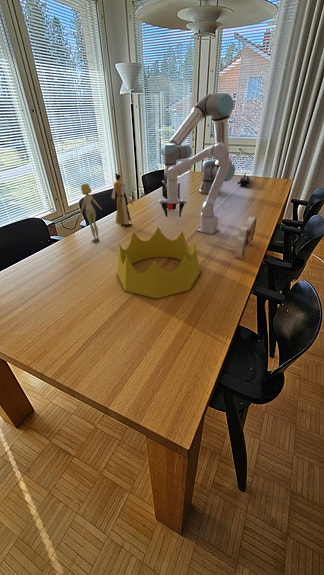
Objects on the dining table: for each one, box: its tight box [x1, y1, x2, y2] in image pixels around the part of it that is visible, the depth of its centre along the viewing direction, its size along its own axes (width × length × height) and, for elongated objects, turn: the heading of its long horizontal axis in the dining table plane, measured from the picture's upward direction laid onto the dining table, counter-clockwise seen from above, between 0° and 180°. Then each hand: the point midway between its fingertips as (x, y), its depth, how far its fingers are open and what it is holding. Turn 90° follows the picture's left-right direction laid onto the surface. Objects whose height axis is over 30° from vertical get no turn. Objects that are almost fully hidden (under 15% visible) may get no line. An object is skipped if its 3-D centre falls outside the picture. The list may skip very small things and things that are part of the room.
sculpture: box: [79, 183, 103, 243], centre depth 136 cm, size 13×5×30 cm, turn 134°
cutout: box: [235, 216, 258, 260], centre depth 125 cm, size 15×3×25 cm
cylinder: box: [167, 204, 174, 211], centre depth 178 cm, size 5×5×5 cm
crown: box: [116, 226, 201, 299], centre depth 110 cm, size 36×36×15 cm
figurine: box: [110, 173, 134, 228], centre depth 153 cm, size 19×9×30 cm, turn 47°
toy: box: [237, 173, 251, 188], centre depth 230 cm, size 10×5×30 cm
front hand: (173, 216), depth 149 cm, fingers open, 7 cm apart
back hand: (171, 208), depth 180 cm, fingers closed on cylinder, 5 cm apart
